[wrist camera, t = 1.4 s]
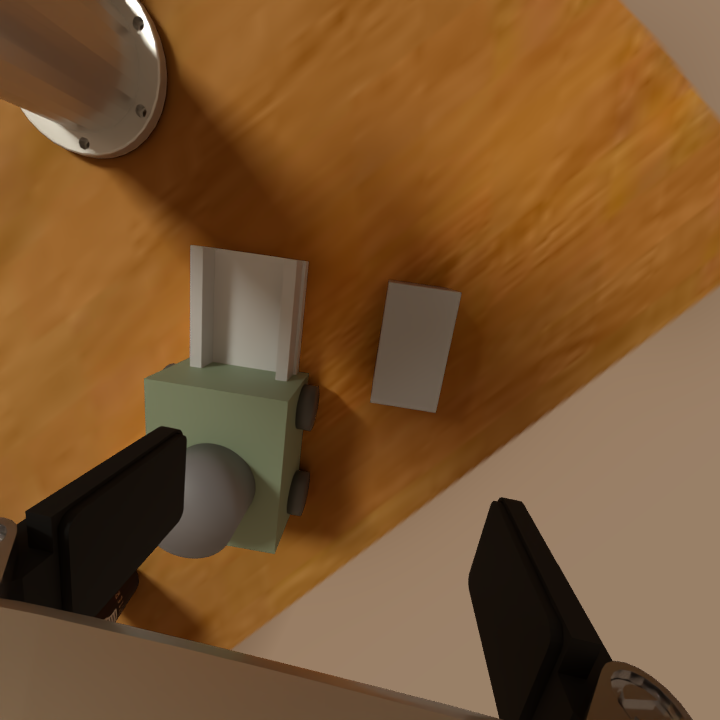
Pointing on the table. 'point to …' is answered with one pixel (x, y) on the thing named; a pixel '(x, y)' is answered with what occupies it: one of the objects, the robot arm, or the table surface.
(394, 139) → the table surface
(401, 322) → the gray rectangular block
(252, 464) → the green toy tractor
